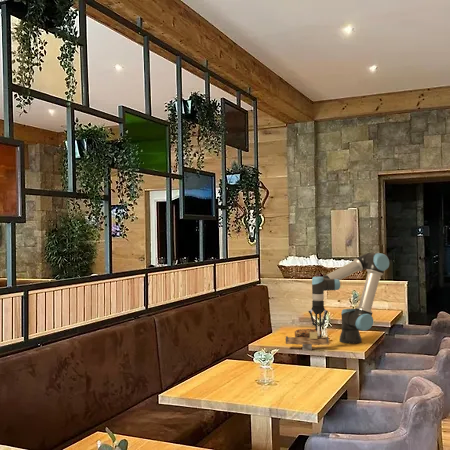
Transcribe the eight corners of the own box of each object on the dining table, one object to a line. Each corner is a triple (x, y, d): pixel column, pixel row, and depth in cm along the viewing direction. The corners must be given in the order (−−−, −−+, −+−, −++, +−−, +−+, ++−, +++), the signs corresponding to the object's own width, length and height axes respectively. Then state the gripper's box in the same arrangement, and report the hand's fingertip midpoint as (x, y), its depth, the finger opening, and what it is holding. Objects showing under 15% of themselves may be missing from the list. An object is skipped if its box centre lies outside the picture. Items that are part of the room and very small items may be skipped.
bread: (321, 341, 389) (321, 327, 389) (322, 345, 378) (321, 330, 378) (295, 341, 392) (294, 327, 392) (294, 344, 381) (294, 330, 381)
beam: (328, 348, 367) (328, 336, 367) (328, 350, 360) (328, 339, 360) (286, 347, 372) (286, 336, 372) (285, 350, 364) (285, 338, 364)
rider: (317, 339, 368) (317, 331, 368) (317, 341, 362) (317, 333, 362) (309, 339, 368) (309, 331, 368) (309, 341, 362) (309, 333, 362)
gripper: (327, 299, 367) (328, 334, 367) (308, 299, 369) (308, 334, 369) (328, 300, 360) (328, 337, 360) (308, 300, 362) (308, 336, 362)
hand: (318, 335), depth 364 cm, fingers closed
